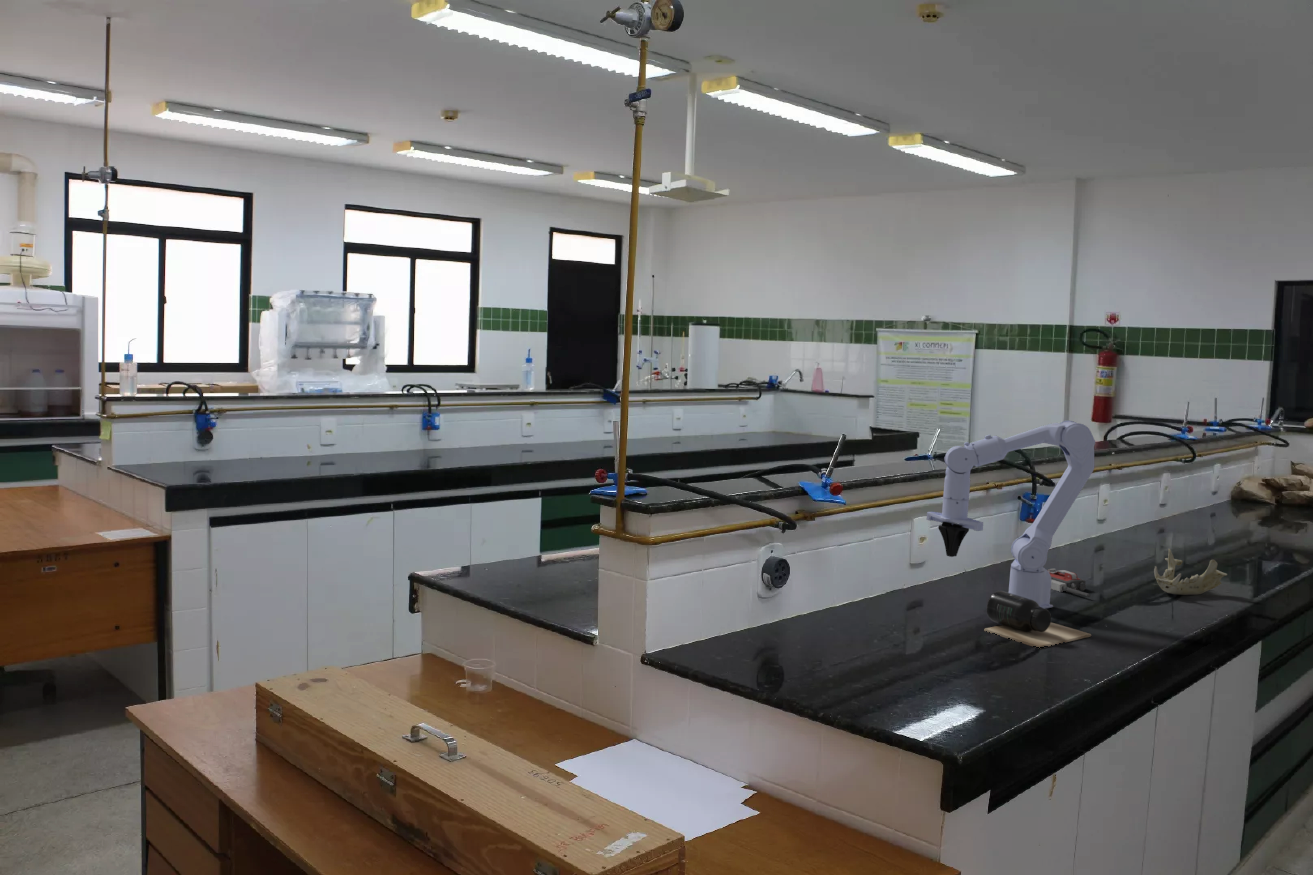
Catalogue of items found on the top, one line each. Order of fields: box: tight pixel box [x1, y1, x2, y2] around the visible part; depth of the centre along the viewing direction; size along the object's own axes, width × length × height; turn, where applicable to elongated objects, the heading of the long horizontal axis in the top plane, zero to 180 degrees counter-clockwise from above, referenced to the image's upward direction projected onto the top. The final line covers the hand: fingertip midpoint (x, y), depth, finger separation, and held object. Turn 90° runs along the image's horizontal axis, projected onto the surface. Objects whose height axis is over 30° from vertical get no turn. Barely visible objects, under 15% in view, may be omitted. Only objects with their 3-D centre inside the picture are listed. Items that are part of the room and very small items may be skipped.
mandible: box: [1153, 548, 1228, 596], centre depth 248 cm, size 19×16×10 cm
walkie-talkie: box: [1046, 568, 1091, 598], centre depth 247 cm, size 9×4×20 cm
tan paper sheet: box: [983, 621, 1092, 649], centre depth 206 cm, size 18×13×1 cm
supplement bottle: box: [986, 590, 1052, 632], centre depth 207 cm, size 7×7×12 cm
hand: (951, 555), depth 230 cm, fingers closed
